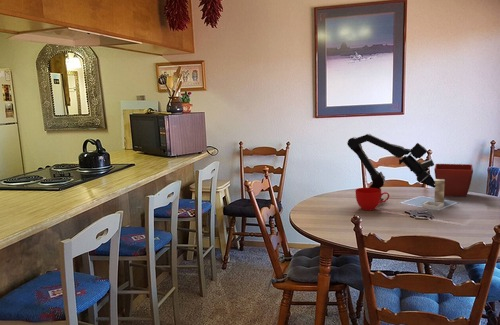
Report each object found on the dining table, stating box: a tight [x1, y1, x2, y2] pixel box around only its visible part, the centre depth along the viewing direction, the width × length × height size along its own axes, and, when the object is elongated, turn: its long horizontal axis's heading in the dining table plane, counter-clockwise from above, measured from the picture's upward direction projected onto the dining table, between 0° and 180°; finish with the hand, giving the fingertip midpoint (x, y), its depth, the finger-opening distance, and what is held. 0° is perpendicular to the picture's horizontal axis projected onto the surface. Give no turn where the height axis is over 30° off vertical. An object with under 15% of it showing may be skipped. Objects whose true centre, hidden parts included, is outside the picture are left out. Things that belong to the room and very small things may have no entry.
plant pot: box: [434, 163, 474, 198], centre depth 224 cm, size 19×19×17 cm
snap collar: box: [422, 201, 444, 209], centre depth 201 cm, size 8×8×2 cm
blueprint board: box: [399, 195, 460, 212], centre depth 208 cm, size 22×22×1 cm
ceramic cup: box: [355, 187, 390, 211], centre depth 204 cm, size 13×17×10 cm
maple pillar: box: [433, 178, 445, 203], centre depth 207 cm, size 4×4×12 cm
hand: (435, 185), depth 208 cm, fingers open, 9 cm apart
